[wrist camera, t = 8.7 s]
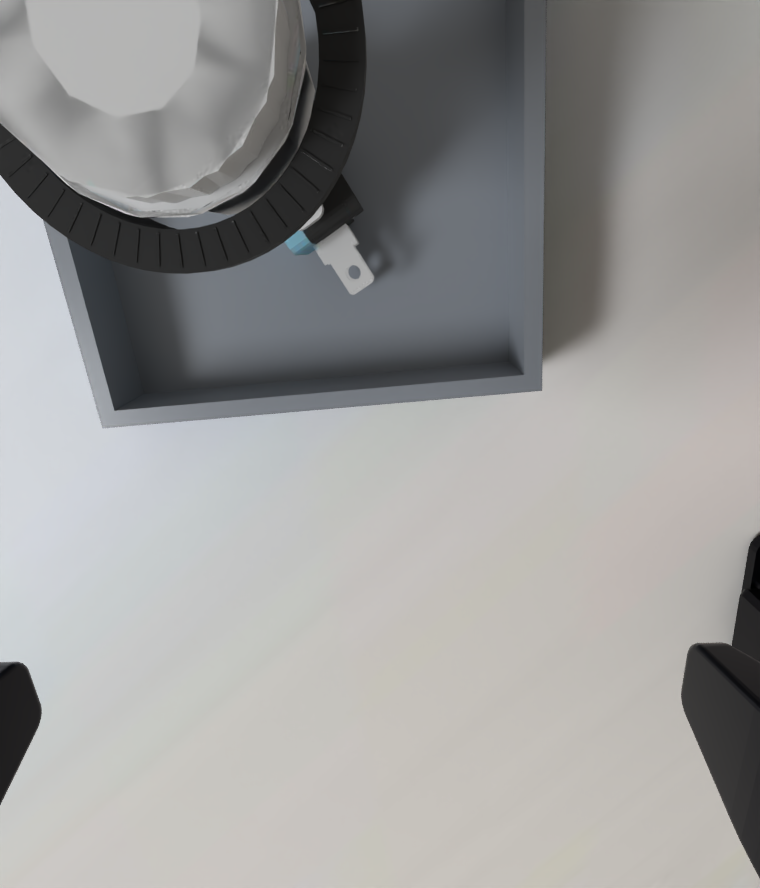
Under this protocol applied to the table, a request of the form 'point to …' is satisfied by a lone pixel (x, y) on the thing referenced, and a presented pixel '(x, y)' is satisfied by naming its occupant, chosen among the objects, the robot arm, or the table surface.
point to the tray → (360, 248)
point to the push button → (185, 127)
